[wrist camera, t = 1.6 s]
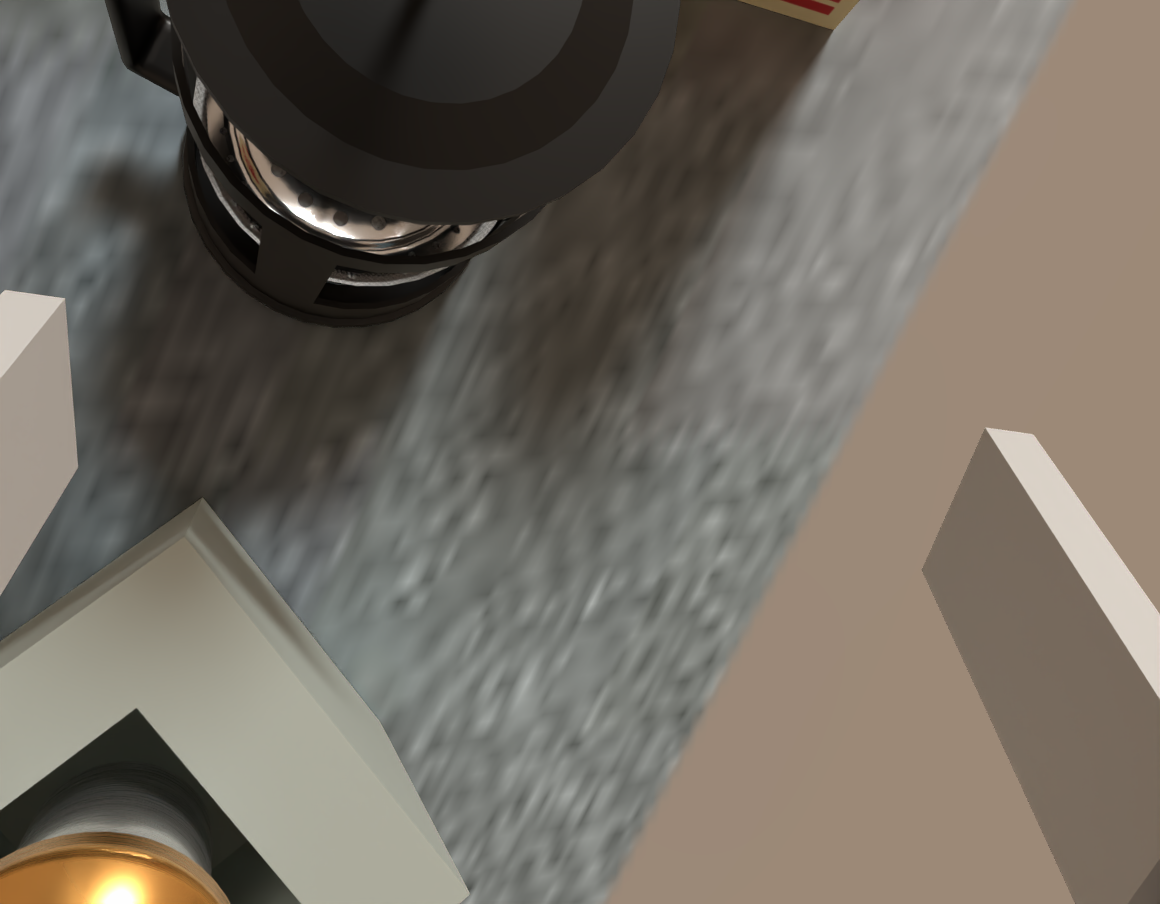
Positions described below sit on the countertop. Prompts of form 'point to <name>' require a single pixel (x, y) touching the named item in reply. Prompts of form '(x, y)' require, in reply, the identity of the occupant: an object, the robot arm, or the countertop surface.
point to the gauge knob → (115, 843)
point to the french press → (388, 131)
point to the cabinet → (218, 724)
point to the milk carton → (810, 10)
